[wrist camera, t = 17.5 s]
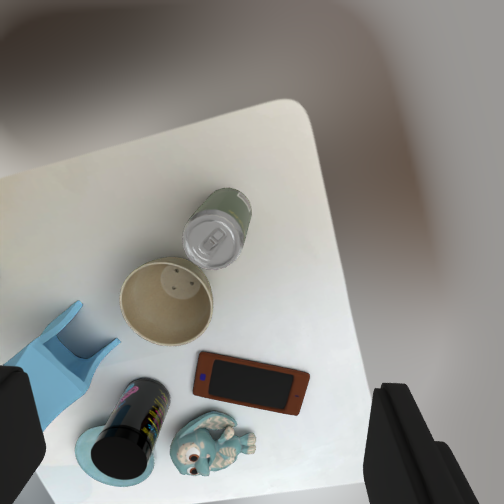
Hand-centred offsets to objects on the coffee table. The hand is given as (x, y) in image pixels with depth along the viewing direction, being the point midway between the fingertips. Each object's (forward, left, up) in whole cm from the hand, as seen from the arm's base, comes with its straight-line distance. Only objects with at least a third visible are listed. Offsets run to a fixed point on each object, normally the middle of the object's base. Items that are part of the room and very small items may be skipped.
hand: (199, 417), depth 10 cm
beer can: (-1, -4, -34) cm, 34 cm away
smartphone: (+18, -19, -33) cm, 42 cm away
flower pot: (+1, -14, -34) cm, 37 cm away
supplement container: (+10, -32, -34) cm, 47 cm away
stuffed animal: (+21, -30, -34) cm, 49 cm away
